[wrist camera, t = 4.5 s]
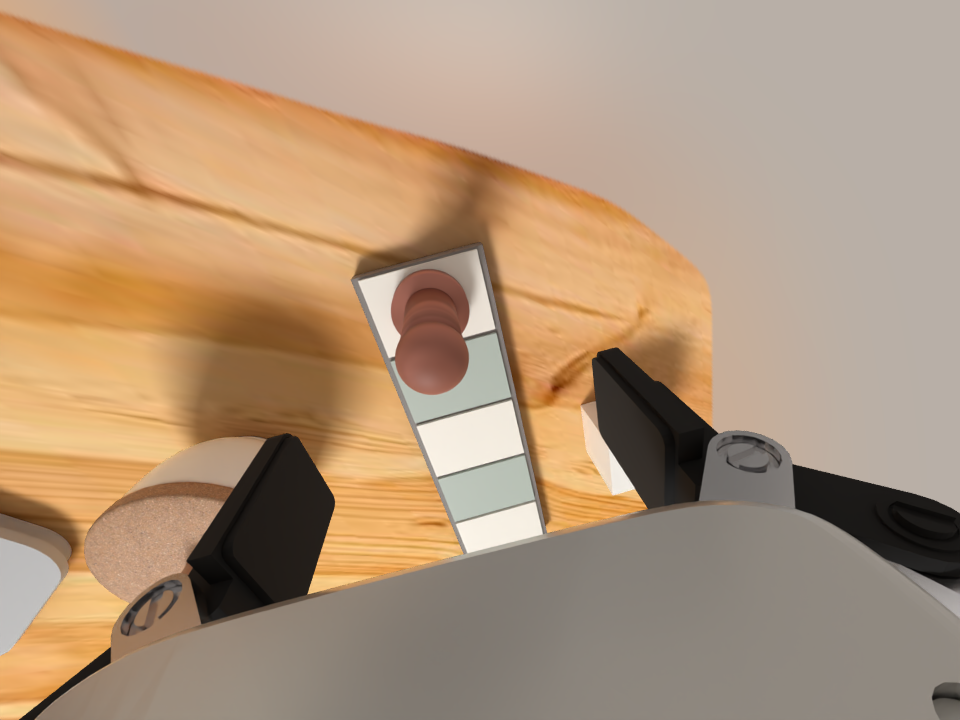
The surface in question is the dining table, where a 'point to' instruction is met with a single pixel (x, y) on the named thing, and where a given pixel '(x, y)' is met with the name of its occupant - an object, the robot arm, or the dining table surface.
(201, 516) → the lidded jar
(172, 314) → the dining table surface
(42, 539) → the tablet
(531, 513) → the track board
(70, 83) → the dining table surface
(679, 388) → the dining table surface
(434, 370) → the pawn
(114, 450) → the dining table surface
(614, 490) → the die
